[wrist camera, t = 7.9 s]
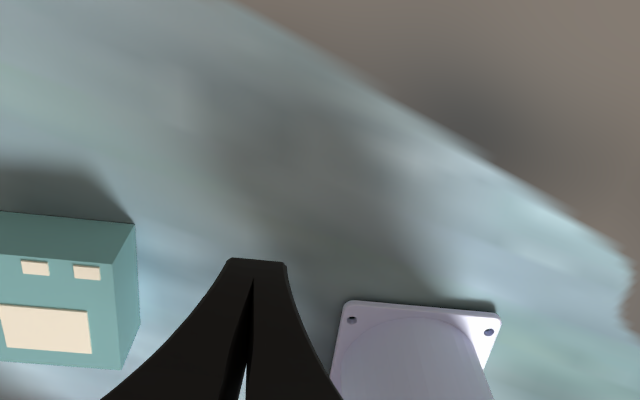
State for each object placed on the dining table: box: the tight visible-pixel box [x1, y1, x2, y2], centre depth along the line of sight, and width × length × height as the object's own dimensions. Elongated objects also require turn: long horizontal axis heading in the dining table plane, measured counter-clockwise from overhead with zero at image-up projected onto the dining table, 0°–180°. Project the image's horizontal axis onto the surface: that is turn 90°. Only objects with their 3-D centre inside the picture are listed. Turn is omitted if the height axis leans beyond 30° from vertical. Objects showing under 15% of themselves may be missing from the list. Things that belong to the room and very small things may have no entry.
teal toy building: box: [0, 211, 140, 370], centre depth 23 cm, size 6×6×3 cm
